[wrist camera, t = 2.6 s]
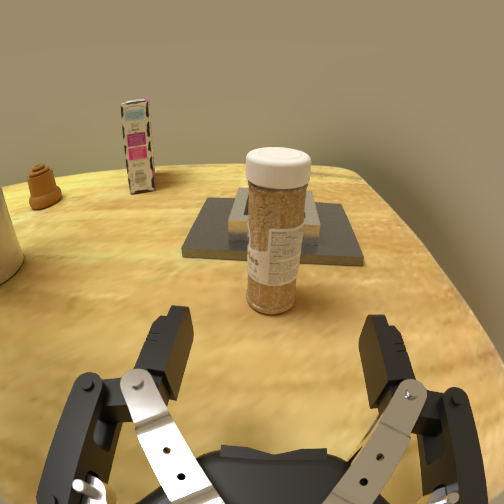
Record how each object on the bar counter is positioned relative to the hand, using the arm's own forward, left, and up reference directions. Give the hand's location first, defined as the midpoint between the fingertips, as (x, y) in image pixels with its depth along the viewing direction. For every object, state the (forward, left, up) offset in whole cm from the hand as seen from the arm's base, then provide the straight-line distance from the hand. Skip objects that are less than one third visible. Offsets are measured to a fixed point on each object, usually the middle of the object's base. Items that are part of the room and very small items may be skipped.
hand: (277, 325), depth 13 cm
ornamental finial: (-45, +33, -9) cm, 57 cm away
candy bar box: (-25, +41, -9) cm, 49 cm away
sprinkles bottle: (0, +11, -9) cm, 14 cm away
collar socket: (0, +24, -9) cm, 26 cm away
